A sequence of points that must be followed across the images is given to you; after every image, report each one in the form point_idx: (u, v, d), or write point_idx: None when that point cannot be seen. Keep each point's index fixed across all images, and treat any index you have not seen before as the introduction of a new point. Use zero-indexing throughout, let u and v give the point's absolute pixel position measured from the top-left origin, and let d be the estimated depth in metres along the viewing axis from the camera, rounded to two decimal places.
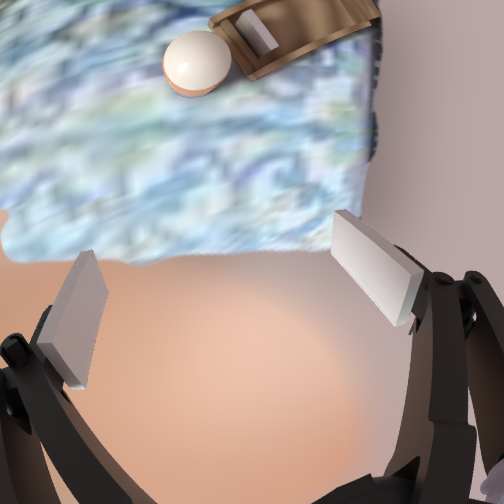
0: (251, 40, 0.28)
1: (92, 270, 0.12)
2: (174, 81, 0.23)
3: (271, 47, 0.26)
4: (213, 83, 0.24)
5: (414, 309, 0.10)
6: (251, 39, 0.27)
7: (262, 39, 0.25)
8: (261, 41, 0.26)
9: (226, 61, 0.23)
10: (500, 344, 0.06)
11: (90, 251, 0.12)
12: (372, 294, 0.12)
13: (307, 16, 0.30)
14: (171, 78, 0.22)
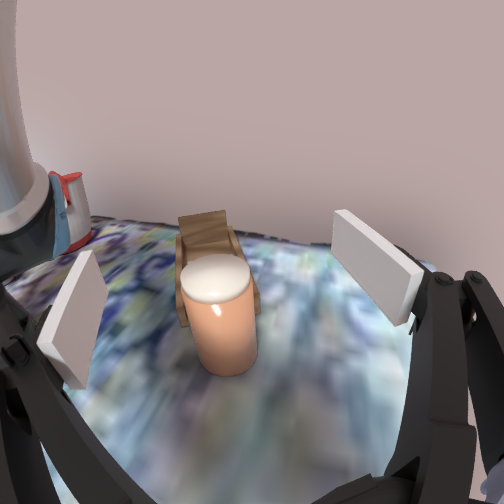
0: None
1: (92, 270, 0.12)
2: (225, 290, 0.24)
3: None
4: (247, 267, 0.27)
5: (414, 309, 0.10)
6: None
7: None
8: None
9: (229, 257, 0.29)
10: (500, 344, 0.06)
11: (90, 251, 0.12)
12: (372, 294, 0.12)
13: None
14: (220, 291, 0.24)
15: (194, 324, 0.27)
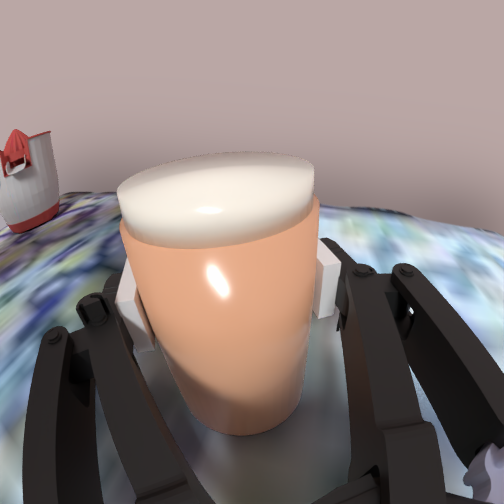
0: None
1: None
2: (252, 193, 0.07)
3: None
4: (303, 161, 0.09)
5: (337, 302, 0.11)
6: None
7: None
8: None
9: (252, 153, 0.11)
10: (449, 341, 0.06)
11: None
12: None
13: None
14: (233, 196, 0.06)
15: (154, 322, 0.09)
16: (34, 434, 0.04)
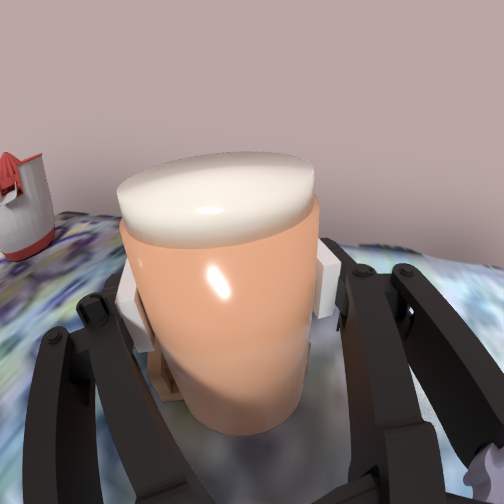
0: None
1: None
2: (252, 193, 0.07)
3: None
4: (303, 161, 0.09)
5: (337, 302, 0.11)
6: None
7: None
8: None
9: (252, 153, 0.11)
10: (449, 341, 0.06)
11: None
12: None
13: None
14: (233, 196, 0.06)
15: (154, 322, 0.09)
16: (34, 434, 0.04)
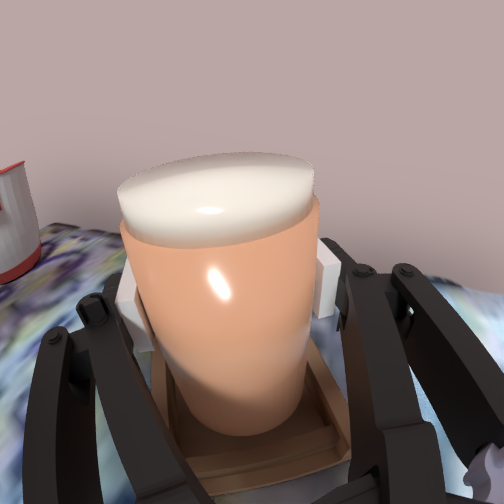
0: None
1: None
2: (252, 192, 0.07)
3: None
4: (302, 161, 0.10)
5: (337, 302, 0.11)
6: None
7: None
8: None
9: (252, 154, 0.11)
10: (449, 341, 0.06)
11: None
12: None
13: None
14: (233, 196, 0.07)
15: (155, 322, 0.09)
16: (34, 434, 0.04)
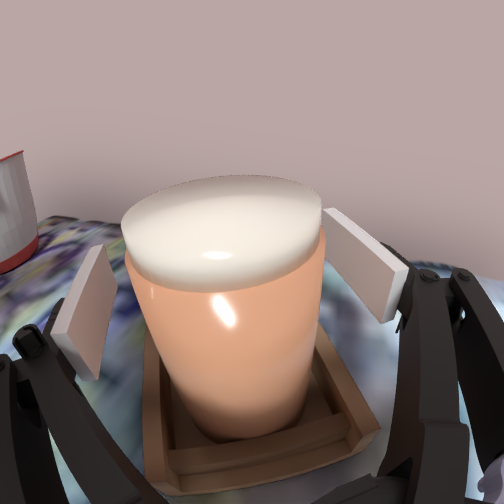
0: None
1: (103, 264, 0.13)
2: (260, 239, 0.07)
3: None
4: (309, 191, 0.09)
5: (400, 306, 0.10)
6: None
7: None
8: None
9: (257, 178, 0.11)
10: (491, 342, 0.06)
11: (101, 245, 0.13)
12: (359, 291, 0.12)
13: None
14: (242, 243, 0.07)
15: (162, 351, 0.09)
16: None
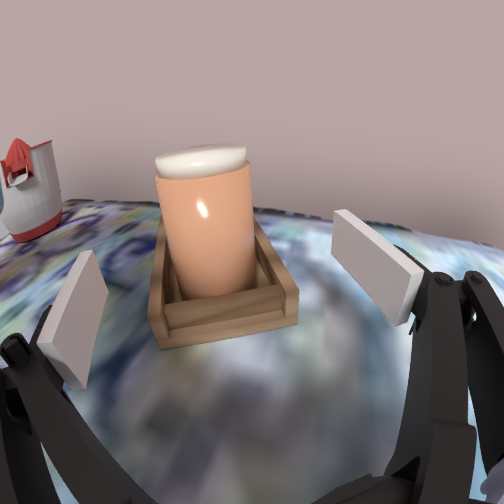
0: None
1: (92, 270, 0.12)
2: (212, 157, 0.17)
3: None
4: (243, 146, 0.19)
5: (414, 309, 0.10)
6: None
7: None
8: None
9: (221, 144, 0.21)
10: (500, 344, 0.06)
11: (90, 251, 0.12)
12: (372, 294, 0.12)
13: None
14: (205, 158, 0.16)
15: (169, 223, 0.19)
16: None
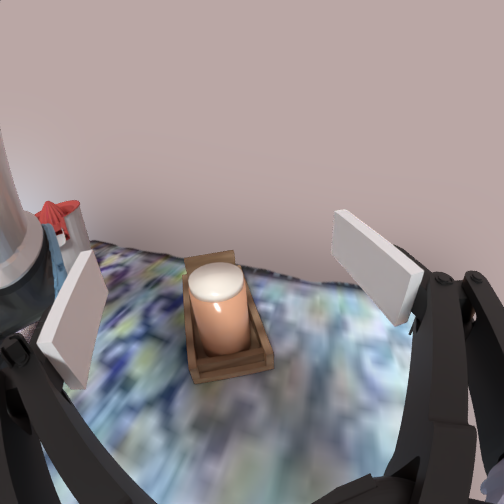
0: None
1: (92, 270, 0.12)
2: (224, 291, 0.31)
3: None
4: (241, 273, 0.34)
5: (414, 309, 0.10)
6: None
7: None
8: None
9: (227, 265, 0.36)
10: (500, 344, 0.06)
11: (90, 251, 0.12)
12: (372, 294, 0.12)
13: None
14: (220, 292, 0.31)
15: (199, 319, 0.34)
16: None
